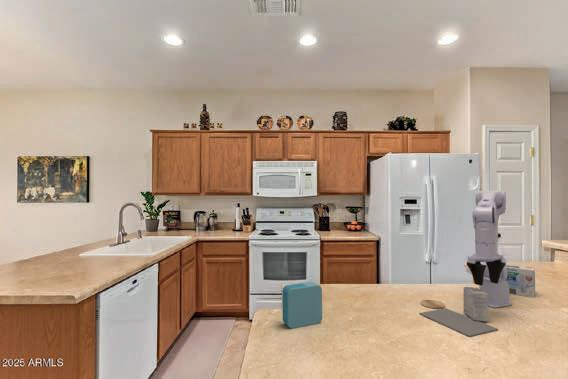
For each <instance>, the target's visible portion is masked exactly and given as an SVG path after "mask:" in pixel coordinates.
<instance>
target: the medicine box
mask: <svg viewBox="0 0 568 379" xmlns="http://www.w3.org/2000/svg"><path fill="white" fill-rule="evenodd" d="M462 307H463V313H465V314H466V316H467V317H469V318H472V319H473V320H476V321H480V322H484V323H485V322H489V306H488V294H487V293H485V292H484V291H482V290H480V289H479V287H473V286H464V287H463V306H462Z"/></svg>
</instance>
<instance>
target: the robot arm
mask: <svg viewBox="0 0 568 379" xmlns="http://www.w3.org/2000/svg"><path fill="white" fill-rule="evenodd" d="M506 194H507V193H506V191H505V190H504V189H500V190H476V191H475V195H474V196H475V206H476V207H475V208H472V214H471V216H472V222H473V229H474V242H475V244H474V245H475V246H474V248H475V249H474V250H475V254H474V253H473V254H472V255H470V256H467V261H466V266H467V267H468V269H469V271H470V273H471V276H472V278H473V282H474V284H475V285H477V286H479V287H478V289H480V290H482V291H484V292H485V293H487V294H488V307H491V308H494V309H496V308H502V307H506V306H507V307H508V306H512V305H513V303H512V302H511V300H510V294H509V285H508V283H507V282H506V281H505V280H506V279H507V265H508V264H507V259H506V258H505V257H504V255H503V254H500V253H499V252H498V245H499V242H498V236H499V235H498V233H499V232H498V227H499V225H498V224H499V223H498V222H499V218H500V216H502V215H503V214H505V213H506V204H507V197H506V196H507V195H506Z"/></svg>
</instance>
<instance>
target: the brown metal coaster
mask: <svg viewBox="0 0 568 379" xmlns="http://www.w3.org/2000/svg"><path fill="white" fill-rule="evenodd" d="M420 305H421V306H424V307H425V308H428V309H433V310H438V309H444V308H446V303H443V302H442V301H439V300H434V299H423V300H421V301H420Z"/></svg>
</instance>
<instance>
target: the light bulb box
mask: <svg viewBox="0 0 568 379" xmlns="http://www.w3.org/2000/svg"><path fill="white" fill-rule="evenodd" d="M505 281H506V282H507V283H508V285H509V295H510V294H511V295H515V296H520V297H526V298H533V299H535V298H536V271H535V267H532V266H523V265H515V264H507V279H506V280H505Z"/></svg>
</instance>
